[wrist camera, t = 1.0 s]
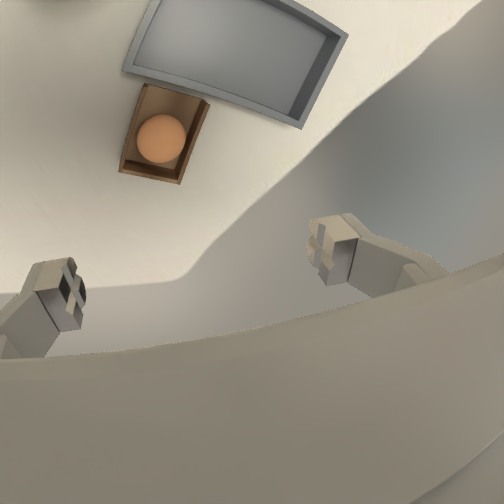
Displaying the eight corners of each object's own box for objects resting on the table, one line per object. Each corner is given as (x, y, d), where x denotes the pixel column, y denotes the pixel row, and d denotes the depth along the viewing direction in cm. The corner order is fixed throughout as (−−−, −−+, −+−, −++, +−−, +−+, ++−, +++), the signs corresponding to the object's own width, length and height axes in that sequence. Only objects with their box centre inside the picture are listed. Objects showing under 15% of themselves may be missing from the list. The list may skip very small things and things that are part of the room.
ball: (131, 151, 29) (130, 162, 25) (144, 107, 27) (145, 111, 23) (173, 160, 32) (179, 173, 28) (188, 118, 30) (196, 124, 26)
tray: (124, 69, 24) (121, 70, 22) (174, -37, 18) (177, -47, 15) (288, 122, 34) (301, 129, 31) (332, 34, 28) (348, 34, 25)
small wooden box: (120, 159, 30) (118, 172, 27) (144, 83, 26) (143, 86, 23) (176, 172, 33) (180, 184, 31) (203, 99, 29) (210, 105, 27)
